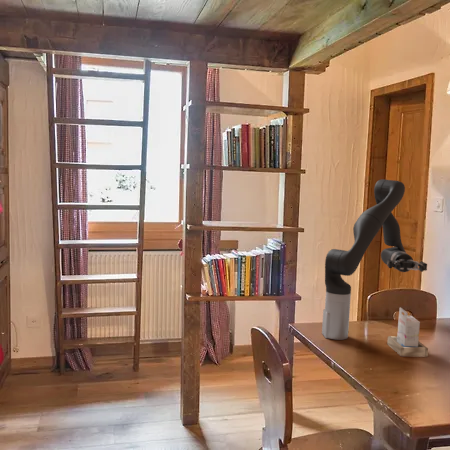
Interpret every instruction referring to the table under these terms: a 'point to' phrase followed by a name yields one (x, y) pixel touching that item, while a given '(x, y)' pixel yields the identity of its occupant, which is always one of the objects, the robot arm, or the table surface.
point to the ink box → (407, 330)
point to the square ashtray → (407, 348)
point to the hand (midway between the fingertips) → (411, 268)
